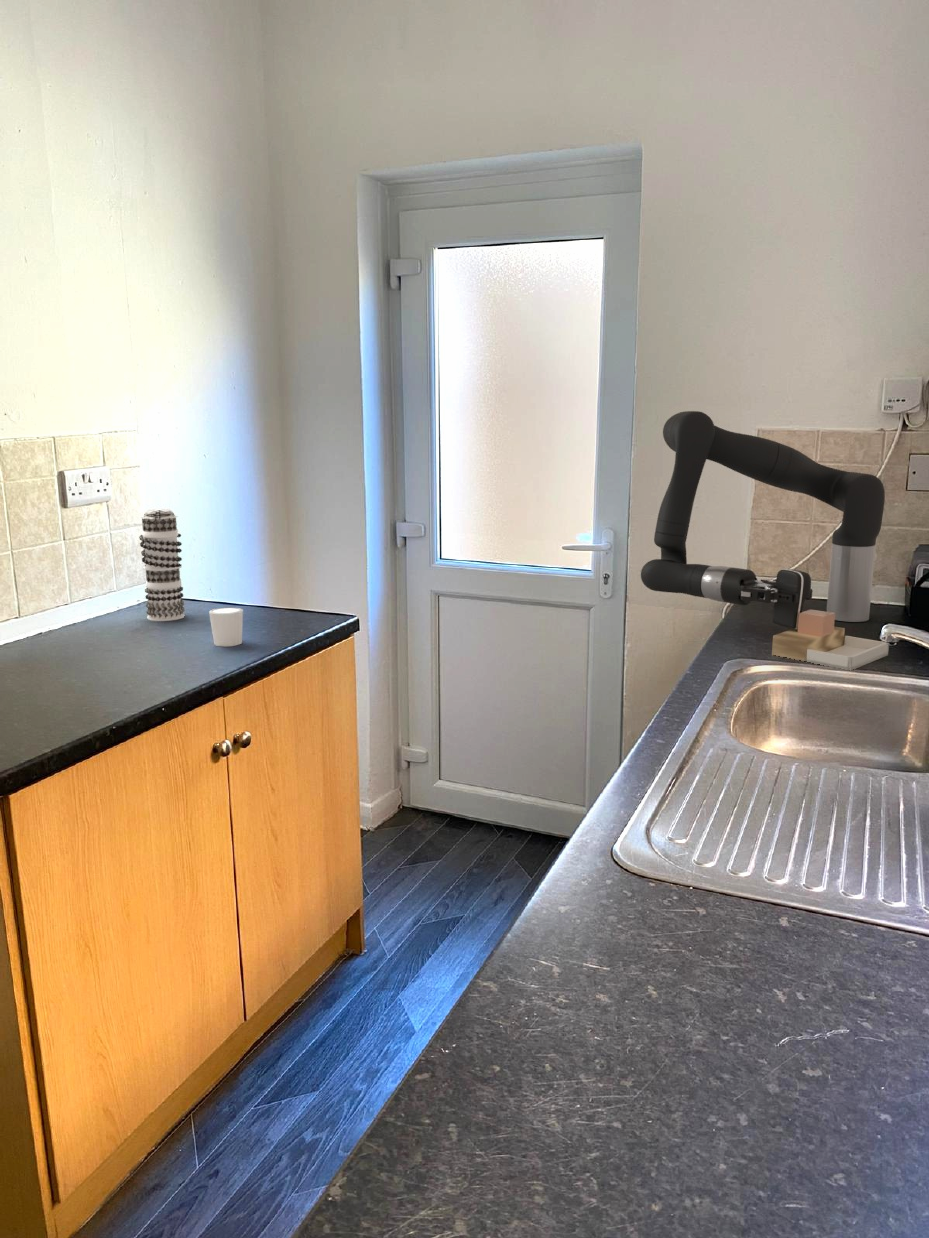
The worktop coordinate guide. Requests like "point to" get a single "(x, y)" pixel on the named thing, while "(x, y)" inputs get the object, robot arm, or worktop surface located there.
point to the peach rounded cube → (816, 623)
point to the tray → (850, 653)
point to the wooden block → (805, 643)
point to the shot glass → (226, 626)
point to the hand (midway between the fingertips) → (804, 596)
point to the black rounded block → (791, 582)
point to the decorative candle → (162, 565)
